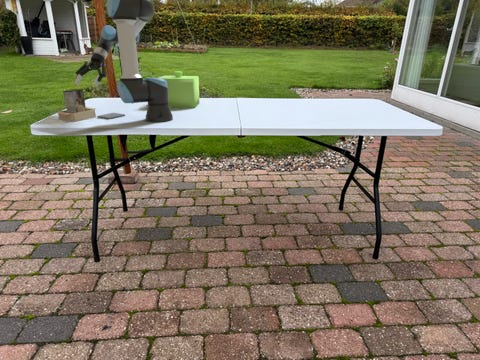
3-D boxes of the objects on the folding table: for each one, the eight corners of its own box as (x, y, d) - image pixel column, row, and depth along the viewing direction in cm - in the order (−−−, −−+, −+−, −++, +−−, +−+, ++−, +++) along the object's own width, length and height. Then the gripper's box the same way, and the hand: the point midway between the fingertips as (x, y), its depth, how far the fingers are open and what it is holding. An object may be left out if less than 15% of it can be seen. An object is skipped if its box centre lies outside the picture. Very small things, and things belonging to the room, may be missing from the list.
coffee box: (77, 116, 204) (73, 88, 198) (87, 117, 203) (83, 89, 197) (67, 119, 196) (62, 90, 190) (77, 120, 195) (73, 91, 189)
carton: (99, 116, 205) (98, 108, 203) (69, 122, 188) (68, 114, 187) (85, 114, 211) (83, 106, 209) (54, 120, 194) (53, 112, 192)
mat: (125, 116, 207) (125, 114, 207) (109, 119, 197) (109, 117, 197) (113, 114, 212) (113, 112, 211) (97, 117, 202) (97, 115, 201)
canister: (158, 107, 235) (155, 72, 227) (165, 102, 255) (163, 70, 247) (194, 108, 235) (193, 72, 226) (199, 103, 255) (198, 70, 246)
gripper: (119, 62, 210) (107, 90, 202) (85, 60, 217) (72, 88, 209) (113, 52, 203) (99, 81, 195) (78, 52, 210) (64, 79, 202)
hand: (85, 85), depth 202 cm, fingers open, 13 cm apart
